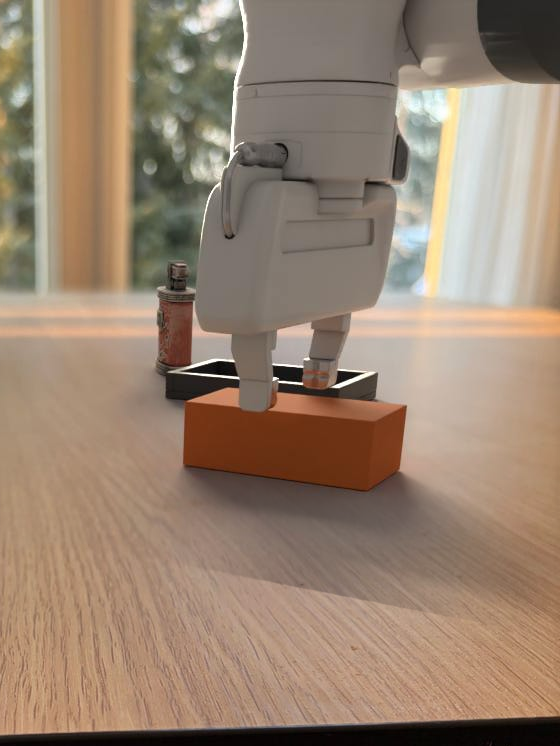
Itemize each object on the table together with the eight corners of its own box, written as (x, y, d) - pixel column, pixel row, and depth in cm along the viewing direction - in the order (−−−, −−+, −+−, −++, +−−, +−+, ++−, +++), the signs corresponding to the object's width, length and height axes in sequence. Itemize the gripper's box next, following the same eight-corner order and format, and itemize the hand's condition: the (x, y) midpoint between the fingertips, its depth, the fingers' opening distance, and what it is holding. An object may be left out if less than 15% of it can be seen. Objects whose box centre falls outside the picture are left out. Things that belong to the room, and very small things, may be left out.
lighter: (151, 364, 106) (153, 258, 102) (184, 363, 106) (187, 258, 102) (162, 377, 99) (165, 263, 95) (198, 376, 99) (202, 263, 95)
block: (399, 469, 65) (407, 404, 64) (367, 491, 61) (374, 421, 59) (224, 447, 71) (227, 387, 70) (182, 465, 67) (184, 401, 65)
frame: (375, 397, 88) (378, 372, 87) (336, 415, 81) (339, 388, 80) (213, 382, 96) (214, 358, 95) (164, 397, 89) (165, 372, 88)
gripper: (289, 138, 49) (267, 433, 55) (420, 153, 65) (393, 381, 70) (171, 140, 52) (161, 419, 58) (323, 155, 68) (304, 372, 74)
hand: (289, 398), depth 64 cm, fingers open, 8 cm apart
